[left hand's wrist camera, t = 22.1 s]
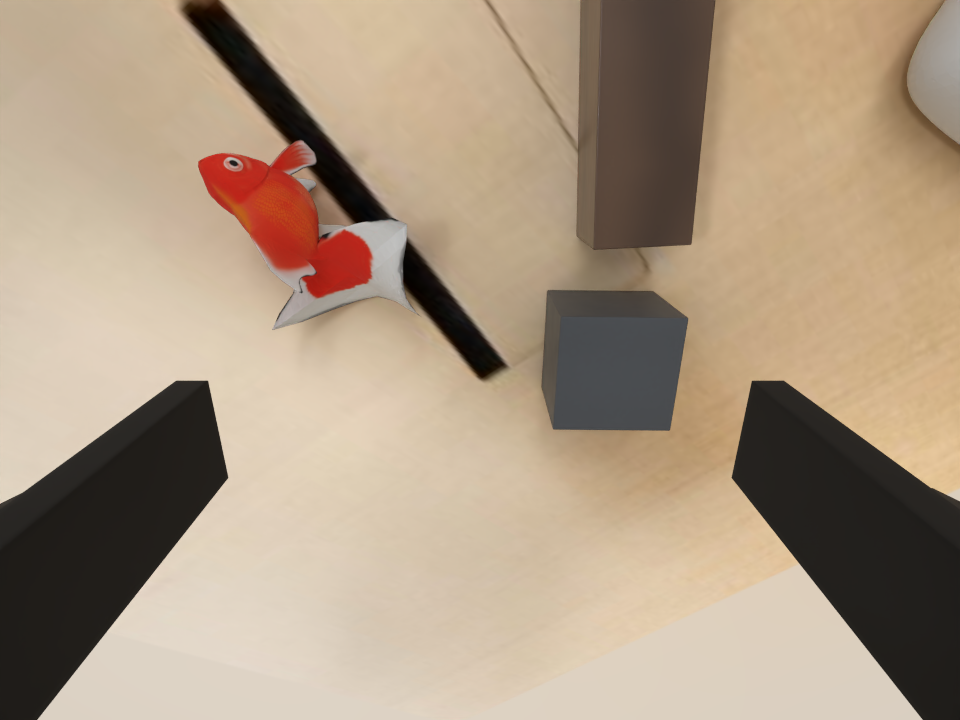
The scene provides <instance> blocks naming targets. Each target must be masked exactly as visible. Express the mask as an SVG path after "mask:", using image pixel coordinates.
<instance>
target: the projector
mask: <svg viewBox="0 0 960 720" xmlns="http://www.w3.org/2000/svg"><path fill="white" fill-rule="evenodd" d="M907 87H908V91H909V94H910V96H911V98H912V100H913V102H914V103H915V104H916V106H917V107H918V108H919V110H920V111H921V112H922V113H923V114H924V115H925V116H926V117H927V118H928V119H929V120H930V121H931V122H932V123H933V124H934V125H935V126H937V127H938V128H939V129H940V130H941V131H942V132H944V133H945V134H946V135H947V136H949V137H950V138H951V139H953V140H954V141H955V142H957V143H958V144H959V145H960V0H945V2H944V3H943V4H942V6H941V7H940V9H939V10H938V12H937V13H936V14H935V16H934V17H933V19H932V20H931V22H930V23H929V25H928V27H927V28H926V30H925V31H924V33H923V35H922V36H921V38H920V40H919V42H918V44H917V46H916V48H915V51H914V53H913V55H912V58H911V61H910V64H909V68H908V72H907Z"/></svg>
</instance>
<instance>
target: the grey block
mask: <svg viewBox="0 0 960 720" xmlns="http://www.w3.org/2000/svg"><path fill="white" fill-rule="evenodd" d="M687 324H688V318H687V317H686V316H685V315H683V314H682V313H681V312H679V311H678V310H677V309H676V308H674V307H673V306H672V305H670V304H669V303H668V302H666V301H665V300H664V299H663V298H661V297H660V296H659V295H657V294H656V293H655V292H653V291H564V290H548V291H547V305H546V322H545V338H544V355H543V372H542V390H543V394H544V398H545V401H546V405H547V409H548V412H549V416H550V420H551V424H552V427H553V429H563V430H666V431H669V430H670V427H671V421H672V415H673V409H674V403H675V397H676V390H677V384H678V378H679V372H680V366H681V360H682V354H683V348H684V342H685V336H686V330H687Z"/></svg>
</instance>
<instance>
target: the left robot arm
mask: <svg viewBox="0 0 960 720" xmlns="http://www.w3.org/2000/svg"><path fill="white" fill-rule="evenodd" d="M227 479H228V474H227V469H226V465H225V460H224V455H223V450H222V445H221V441H220V436H219V431H218V426H217V422H216V417H215V412H214V407H213V402H212V398H211V393H210V388H209V383H208V381H175V382H174V383H173V384H171V385H170V386H168V387H167V388H166V389H164V390H163V391H162V392H160V393H159V394H157V395H156V396H155V397H153V398H152V399H151V400H149V401H148V402H147V403H145V404H144V405H142V406H141V407H140V408H138V409H137V410H136V411H134V412H133V413H131V414H130V415H129V416H127V417H126V418H125V419H123V420H122V421H120V422H119V423H118V424H116V425H115V426H114V427H112V428H111V429H110V430H108V431H107V432H105V433H104V434H103V435H101V436H100V437H99V438H97V439H96V440H94V441H93V442H92V443H90V444H89V445H88V446H86V447H85V448H83V449H82V450H81V451H79V452H78V453H77V454H75V455H74V456H73V457H71V458H70V459H68V460H67V461H66V462H64V463H63V464H62V465H60V466H59V467H57V468H56V469H55V470H53V471H52V472H51V473H49V474H48V475H46V476H45V477H44V478H42V479H41V480H40V481H38V482H37V483H36V484H34V485H33V486H31V487H30V488H29V489H27V490H26V491H25V492H23V493H21V494H19V495H17V496H15V497H13V498H11V499H9V500H7V501H5V502H3V503H1V504H0V720H37V719H38V718H39V717H40V715H41V714H42V713H43V712H44V710H45V709H46V708H47V707H48V705H49V704H50V703H51V702H52V700H53V699H54V698H55V697H56V695H57V694H58V693H59V691H60V690H61V689H62V688H63V686H64V685H65V684H66V683H67V681H68V680H69V679H70V678H71V676H72V675H73V674H74V672H75V671H76V670H77V669H78V667H79V666H80V665H81V664H82V662H83V661H84V660H85V659H86V657H87V656H88V655H89V653H90V652H91V651H92V650H93V648H94V647H95V646H96V645H97V643H98V642H99V641H100V639H101V638H102V637H103V636H104V634H105V633H106V632H107V631H108V629H109V628H110V627H111V626H112V624H113V623H114V622H115V621H116V619H117V618H118V617H119V615H120V614H121V613H122V612H123V610H124V609H125V608H126V607H127V605H128V604H129V603H130V602H131V600H132V599H133V598H134V597H135V595H136V594H137V593H138V591H139V590H140V589H141V588H142V586H143V585H144V584H145V583H146V581H147V580H148V579H149V578H150V576H151V575H152V574H153V572H154V571H155V570H156V569H157V567H158V566H159V565H160V564H161V562H162V561H163V560H164V559H165V557H166V556H167V555H168V553H169V552H170V551H171V550H172V548H173V547H174V546H175V545H176V543H177V542H178V541H179V540H180V538H181V537H182V536H183V534H184V533H185V532H186V531H187V529H188V528H189V527H190V526H191V524H192V523H193V522H194V521H195V519H196V518H197V517H198V515H199V514H200V513H201V512H202V510H203V509H204V508H205V507H206V505H207V504H208V503H209V502H210V500H211V499H212V498H213V496H214V495H215V494H216V493H217V491H218V490H219V489H220V488H221V486H222V485H223V484H224V483H225V481H226V480H227ZM732 479H733V480H734V481H735V483H736V484H737V485H738V486H739V488H740V489H741V490H742V491H743V493H744V494H745V495H746V496H747V498H748V499H749V500H750V502H751V503H752V504H753V505H754V507H755V508H756V509H757V510H758V512H759V513H760V514H761V515H762V517H763V518H764V519H765V521H766V522H767V523H768V524H769V526H770V527H771V528H772V529H773V531H774V532H775V533H776V534H777V536H778V537H779V538H780V540H781V541H782V542H783V543H784V545H785V546H786V547H787V548H788V550H789V551H790V552H791V553H792V555H793V556H794V557H795V559H796V560H797V561H798V562H799V564H800V565H801V566H802V567H803V569H804V570H805V571H806V572H807V574H808V575H809V576H810V577H811V579H812V580H813V581H814V583H815V584H816V585H817V586H818V588H819V589H820V590H821V591H822V593H823V594H824V595H825V596H826V598H827V599H828V600H829V602H830V603H831V604H832V605H833V607H834V608H835V609H836V610H837V612H838V613H839V614H840V615H841V617H842V618H843V619H844V621H845V622H846V623H847V624H848V626H849V627H850V628H851V629H852V631H853V632H854V633H855V634H856V636H857V637H858V638H859V640H860V641H861V642H862V643H863V645H864V646H865V647H866V648H867V650H868V651H869V652H870V653H871V655H872V656H873V657H874V659H875V660H876V661H877V662H878V664H879V665H880V666H881V667H882V669H883V670H884V671H885V672H886V674H887V675H888V676H889V678H890V679H891V680H892V681H893V683H894V684H895V685H896V686H897V688H898V689H899V690H900V691H901V693H902V694H903V695H904V696H905V698H906V699H907V700H908V702H909V703H910V704H911V705H912V707H913V708H914V709H915V710H916V712H917V713H918V714H919V716H920V717H921V718H922V719H923V720H960V501H958V500H956V499H954V498H952V497H950V496H947V495H945V494H943V493H941V492H939V491H937V490H935V489H933V488H930V487H929V486H927V485H926V484H924V483H923V482H922V481H920V480H919V479H918V478H916V477H915V476H914V475H912V474H911V473H909V472H908V471H907V470H905V469H904V468H903V467H901V466H900V465H898V464H897V463H896V462H894V461H893V460H892V459H890V458H889V457H887V456H886V455H885V454H883V453H882V452H881V451H879V450H878V449H877V448H875V447H874V446H872V445H871V444H870V443H868V442H867V441H866V440H864V439H863V438H861V437H860V436H859V435H857V434H856V433H855V432H853V431H852V430H850V429H849V428H848V427H846V426H845V425H844V424H842V423H841V422H840V421H838V420H837V419H835V418H834V417H833V416H831V415H830V414H829V413H827V412H826V411H824V410H823V409H822V408H820V407H819V406H818V405H816V404H815V403H813V402H812V401H811V400H809V399H808V398H807V397H805V396H804V395H803V394H801V393H800V392H798V391H797V390H796V389H794V388H793V387H792V386H790V385H789V384H787V383H786V382H785V381H752V383H751V388H750V393H749V398H748V402H747V407H746V412H745V417H744V422H743V426H742V431H741V436H740V441H739V445H738V450H737V455H736V460H735V465H734V469H733V474H732Z"/></svg>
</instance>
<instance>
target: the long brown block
mask: <svg viewBox="0 0 960 720" xmlns="http://www.w3.org/2000/svg"><path fill="white" fill-rule="evenodd" d="M714 7H715V0H581V18H580V75H579V132H578V189H577V236H578V237H579V238H580V239H581V240H583V241H584V242H585V243H586V244H588V245H589V246H590V247H591V248H593V249H594V250H598V249H618V248H638V247H657V246H677V245H691V243H692V233H693V223H694V212H695V202H696V192H697V182H698V171H699V161H700V151H701V141H702V130H703V120H704V110H705V100H706V89H707V79H708V69H709V59H710V48H711V38H712V28H713V18H714Z"/></svg>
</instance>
